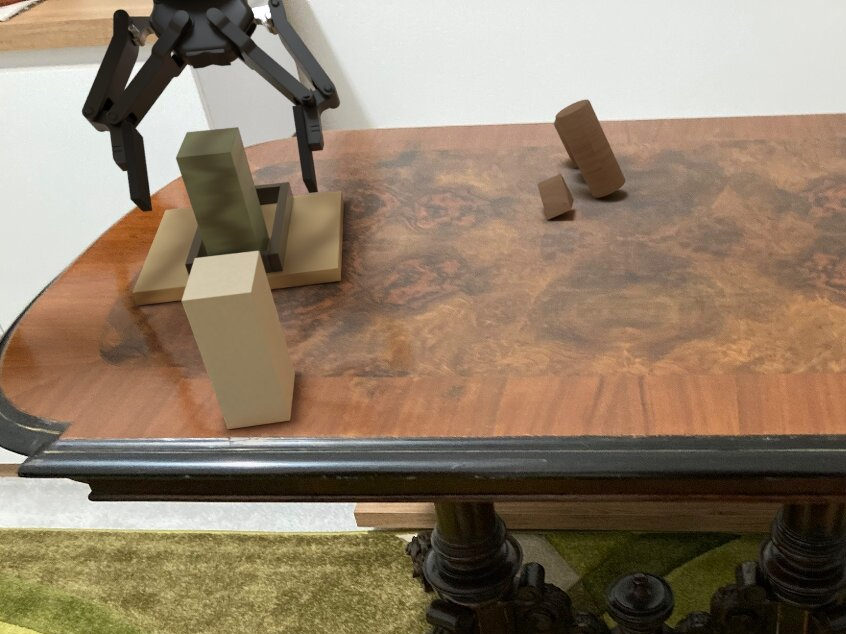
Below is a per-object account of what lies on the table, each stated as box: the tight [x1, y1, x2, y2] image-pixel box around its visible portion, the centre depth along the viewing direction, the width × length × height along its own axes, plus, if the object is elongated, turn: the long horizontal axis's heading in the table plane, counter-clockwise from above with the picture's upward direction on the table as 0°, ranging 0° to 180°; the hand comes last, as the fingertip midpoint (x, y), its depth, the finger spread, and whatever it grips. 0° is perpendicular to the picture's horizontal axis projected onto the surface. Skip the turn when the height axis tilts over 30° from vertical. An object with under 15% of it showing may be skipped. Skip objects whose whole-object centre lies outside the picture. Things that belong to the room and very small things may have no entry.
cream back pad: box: [181, 251, 296, 430], centre depth 74 cm, size 5×7×12 cm
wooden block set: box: [536, 99, 626, 220], centre depth 108 cm, size 18×9×10 cm, turn 176°
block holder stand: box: [132, 126, 345, 306], centre depth 97 cm, size 20×20×14 cm
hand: (227, 196), depth 76 cm, fingers open, 13 cm apart
